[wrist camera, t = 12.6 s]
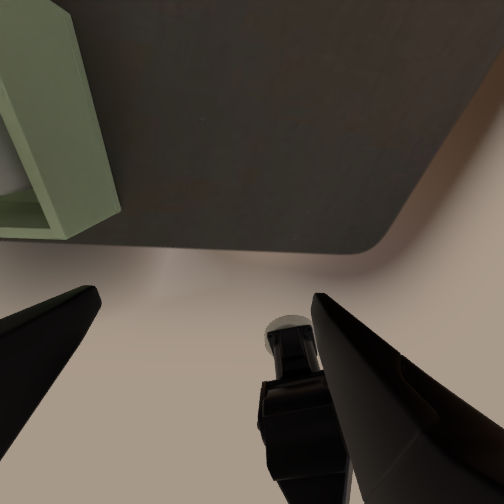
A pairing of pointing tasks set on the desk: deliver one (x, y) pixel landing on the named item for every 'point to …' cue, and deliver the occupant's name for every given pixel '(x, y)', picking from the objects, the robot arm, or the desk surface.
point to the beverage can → (11, 165)
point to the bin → (50, 126)
